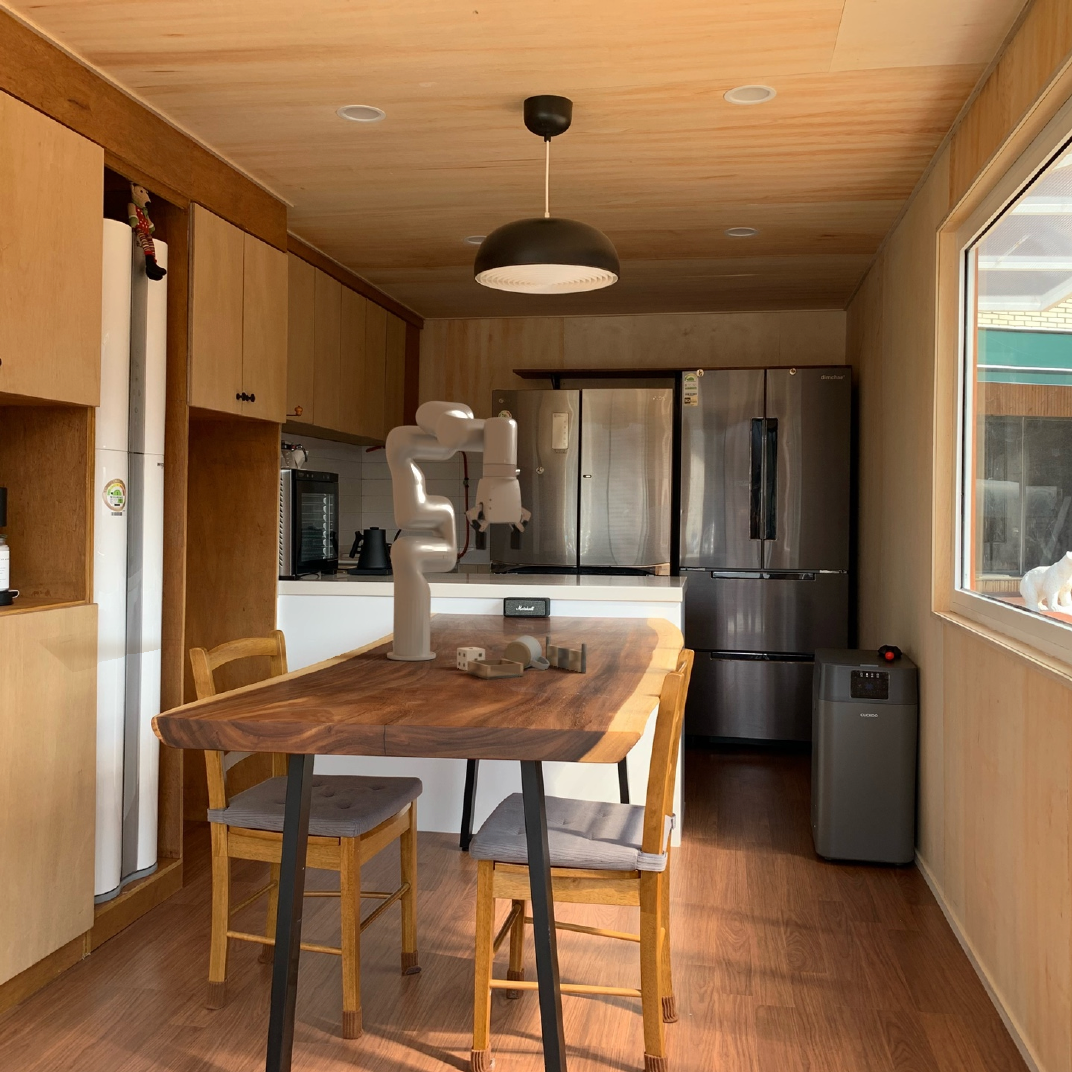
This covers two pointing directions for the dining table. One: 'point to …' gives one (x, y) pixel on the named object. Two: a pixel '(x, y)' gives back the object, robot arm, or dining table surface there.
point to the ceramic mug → (526, 653)
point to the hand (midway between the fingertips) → (498, 549)
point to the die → (469, 656)
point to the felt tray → (495, 668)
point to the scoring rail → (566, 656)
